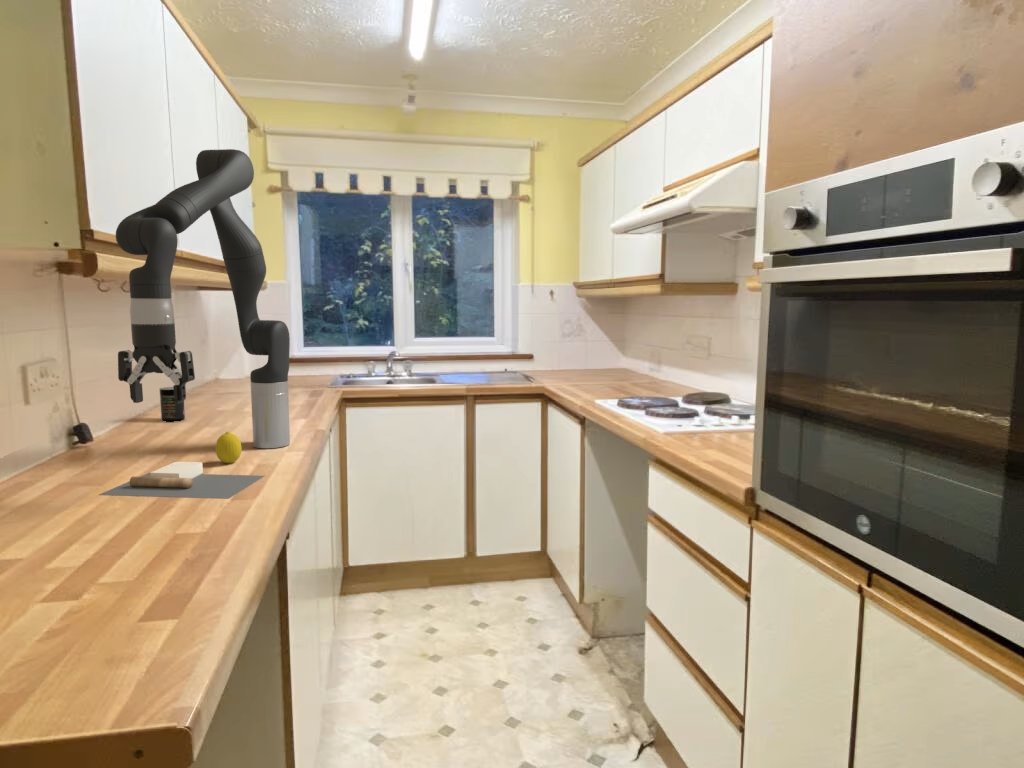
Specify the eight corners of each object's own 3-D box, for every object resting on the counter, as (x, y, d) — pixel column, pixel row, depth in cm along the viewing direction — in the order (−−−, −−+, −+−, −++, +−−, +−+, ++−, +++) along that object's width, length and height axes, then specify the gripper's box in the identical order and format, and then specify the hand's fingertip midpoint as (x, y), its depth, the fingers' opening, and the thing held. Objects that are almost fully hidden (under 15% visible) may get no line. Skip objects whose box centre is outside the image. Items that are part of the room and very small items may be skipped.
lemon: (214, 468, 144) (212, 434, 143) (218, 462, 149) (217, 429, 148) (240, 467, 146) (238, 433, 145) (243, 461, 151) (242, 428, 150)
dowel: (136, 484, 129) (135, 475, 129) (193, 486, 128) (192, 476, 128) (129, 487, 127) (129, 478, 127) (187, 489, 127) (187, 479, 126)
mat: (149, 475, 138) (149, 472, 138) (265, 478, 137) (265, 475, 137) (98, 497, 122) (98, 494, 122) (228, 501, 121) (228, 498, 121)
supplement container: (186, 421, 199) (184, 388, 197) (161, 423, 195) (159, 390, 194) (184, 418, 205) (182, 386, 203) (161, 419, 201) (159, 387, 200)
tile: (151, 484, 129) (176, 472, 138) (179, 485, 129) (202, 473, 138) (150, 472, 129) (175, 461, 138) (178, 473, 129) (202, 462, 138)
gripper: (198, 321, 127) (203, 400, 130) (130, 320, 128) (136, 398, 130) (177, 323, 120) (182, 406, 122) (104, 322, 121) (111, 405, 123)
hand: (158, 402), depth 126 cm, fingers open, 8 cm apart
